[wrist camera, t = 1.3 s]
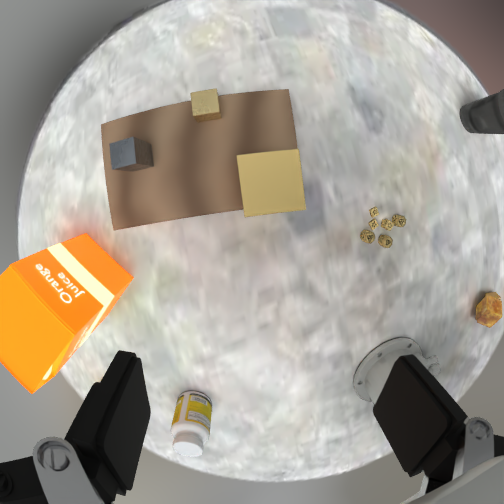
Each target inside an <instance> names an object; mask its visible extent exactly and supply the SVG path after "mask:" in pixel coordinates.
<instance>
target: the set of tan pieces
mask: <svg viewBox="0 0 504 504" xmlns="http://www.w3.org/2000/svg"><path fill="white" fill-rule="evenodd" d="M369 211H370V214H371V217H375V216H377V215H379V213H378V210H377V207H374V208H372V209H370V210H369ZM368 224H369V225H370V227H371V229H372V230H374V229H375V228H376V227H378V226H379V225H378V223H377V221H376V220H375V219H373V220H372V221H371V222H369V223H368ZM405 224H406V219H405V217H404V216H401V215H394V216H393V217H392V222H391V221H390V220H387V219H385V220H383V219H382V223H381V227H383V228H385V229H386V230H389V231H390V230H391V229H392V227H393V226H394V225H395V226H398V227H403V226H404V225H405ZM360 238H361V239H362V241H364V242H366V243H372V242H373V241H374V239H375V235H374V233H373V232H371V231H369V230H363V231H362V232H361V235H360ZM392 241H393V240H392V239H391V237H389V236H387V235H381V236H380V237H379V239H378V243H379V244H380V245H381V246H383V247H385V248H389V247H390V246H391V245H392Z"/></svg>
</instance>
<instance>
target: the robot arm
mask: <svg viewBox="0 0 504 504" xmlns="http://www.w3.org/2000/svg"><path fill="white" fill-rule="evenodd" d="M437 362H438V357H437V356H436V355H435V356H433V357H430V358H429V359H425V358H423V357H422V351H421V349H420V347H419V346H418V344H417V343H416V342H414V341H413V340H411V339H409V338H397V339H393V340H390V341H388V342H386V343H384V344H382V345H380V346H379V347H377V348H376V349H375V350H373V351H372V352H371V353H370V354H369V355H368V356H367V357H366V358H365V359H364V360H363V362H362V363H361V364H360V366H359V368H358V369H357V371H356V374H355V376H354V389H355V391H356V393H357V395H358V396H359V397H360V398H361V399H363V400H365V401H370V402H373V404H374V408H373V413H374V416H375V417H376V419H377V421H378V423H379V425H380V427H381V428H382V430H383V432H384V434H385V436H386V438H387V440H388V441H389V443H390V445H391V447H392V449H393V451H394V453H395V454H396V456H397V458H398V460H399V462H400V464H401V466H402V468H403V469H404V471H405V472H408V474H409V476H410V477H412V476H415V475H417V474H419V473H421V472H424V473H425V475H424V479H423V482H422V486H421V489H420V492H418V493H417V494H415V495H414V496H412V497H410V498H409V499H407V500H405V501H404V502H402V503H400V504H504V437H502V436H498V435H493V428H492V426H491V424H490V423H489V422H488V421H486V420H485V419H483V418H480V417H474V418H471V419H469V417H468V416H467V415H466V414H465V412H464V411H463V410H462V409H461V408H460V406H459V405H458V404H457V403H456V402H455V401H454V399H453V398H452V397H451V396H450V395H449V394H448V392H447V391H446V390H445V389H444V388H443V387H442V385H441V384H440V383H439V382H438V381H437V380H436V379H435V377H434V375H436V374H439V373H440V371H441V368H440V365H439V364H438V363H437ZM435 363H437V364H435ZM433 364H434V365H433ZM430 365H432V366H430ZM428 366H429V367H428ZM150 413H151V411H150V405H149V400H148V396H147V391H146V385H145V380H144V374H143V368H142V362H141V359H140V358H137V357H136V354H135V353H132V352H126V351H120V350H119V351H118V352H117V354H116V355H115V357H114V359H113V361H112V362H111V364H110V366H109V368H108V369H107V371H106V373H105V375H104V377H103V379H102V380H101V382H100V383H99V382H96V383H94V384H93V386H92V387H91V389H90V391H89V393H88V394H87V396H86V398H85V400H84V402H83V404H82V406H81V407H80V409H79V411H78V413H77V415H76V417H75V419H74V421H73V423H72V425H71V427H70V429H69V431H68V433H67V435H66V437H65V439H62V438H58V437H47V438H44V439H42V440H40V441H39V442H38V443H37V444H36V445H35V447H34V449H33V456H30V457H27V458H22V459H18V460H13V461H9V462H4V463H0V504H114V503H113V501H115V497H116V494H120V495H123V496H125V495H126V490H131V489H132V487H133V482H134V478H135V474H136V470H137V465H138V461H139V457H140V453H141V449H142V446H143V442H144V438H145V434H146V430H147V427H148V423H149V419H150Z"/></svg>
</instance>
